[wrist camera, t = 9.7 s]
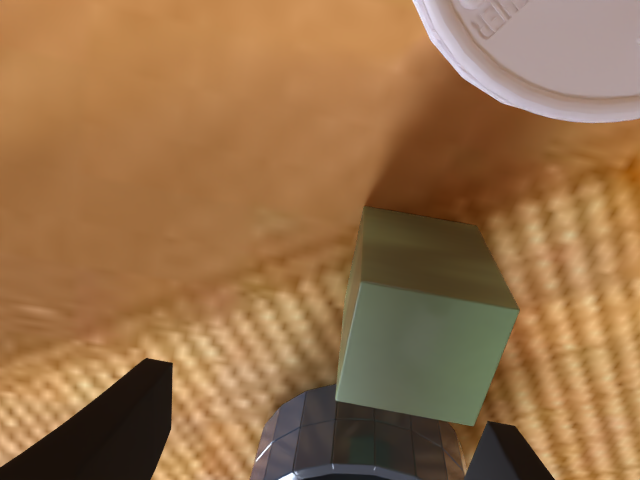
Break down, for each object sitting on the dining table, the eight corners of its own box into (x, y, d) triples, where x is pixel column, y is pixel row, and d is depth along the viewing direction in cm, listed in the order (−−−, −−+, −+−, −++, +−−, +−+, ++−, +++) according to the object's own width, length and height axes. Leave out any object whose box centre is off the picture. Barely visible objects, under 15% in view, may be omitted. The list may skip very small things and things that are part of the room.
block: (477, 225, 19) (520, 309, 13) (447, 319, 20) (474, 427, 15) (363, 205, 19) (360, 280, 13) (344, 300, 21) (334, 401, 15)
